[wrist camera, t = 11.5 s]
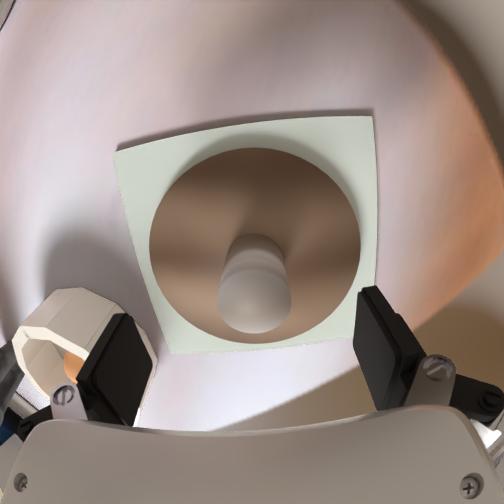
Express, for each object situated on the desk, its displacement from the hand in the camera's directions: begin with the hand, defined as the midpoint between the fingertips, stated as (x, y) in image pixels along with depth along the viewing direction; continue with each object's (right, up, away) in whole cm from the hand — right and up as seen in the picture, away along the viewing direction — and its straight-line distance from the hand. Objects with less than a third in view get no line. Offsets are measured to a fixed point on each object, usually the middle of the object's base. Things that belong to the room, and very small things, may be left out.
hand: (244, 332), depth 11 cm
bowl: (-15, -6, +13) cm, 21 cm away
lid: (+1, +3, +8) cm, 9 cm away
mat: (+1, +3, +8) cm, 9 cm away
